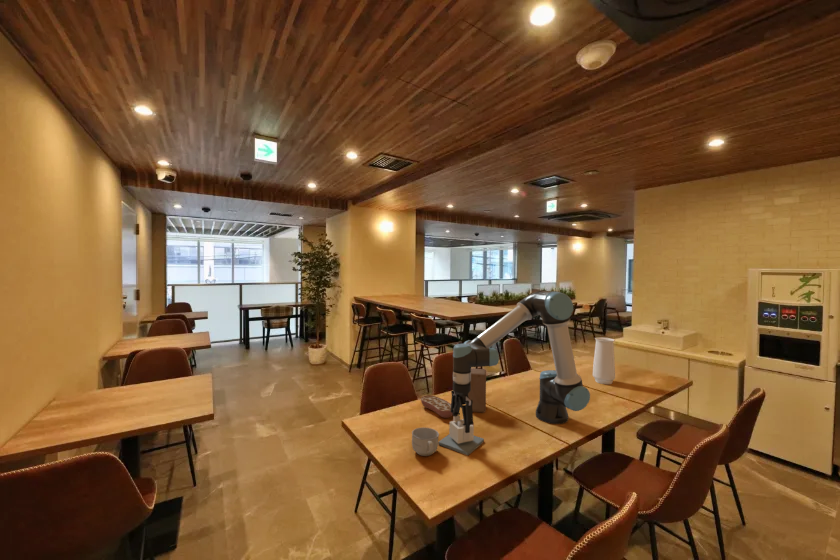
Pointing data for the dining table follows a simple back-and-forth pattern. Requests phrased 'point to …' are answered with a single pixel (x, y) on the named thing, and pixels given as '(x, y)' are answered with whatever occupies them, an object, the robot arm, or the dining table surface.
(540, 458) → the dining table surface
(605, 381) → the vase
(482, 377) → the wooden block
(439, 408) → the anatomical model
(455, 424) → the white square sleeve
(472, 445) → the board
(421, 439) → the teacup
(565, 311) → the robot arm
